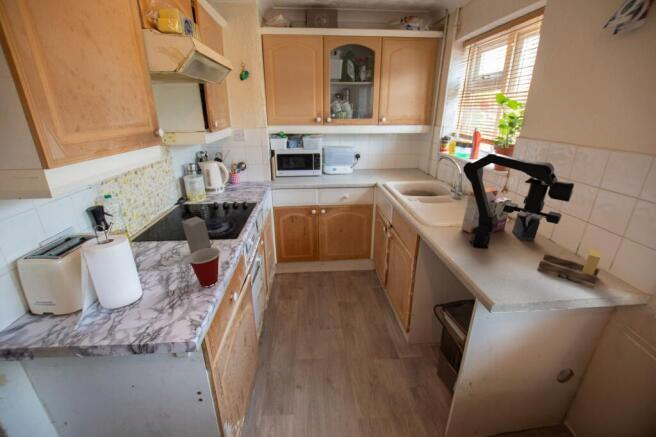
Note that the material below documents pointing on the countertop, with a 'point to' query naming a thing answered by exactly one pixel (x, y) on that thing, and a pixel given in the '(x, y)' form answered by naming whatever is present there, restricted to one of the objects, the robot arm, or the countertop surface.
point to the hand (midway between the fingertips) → (525, 232)
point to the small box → (519, 230)
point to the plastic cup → (205, 265)
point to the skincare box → (196, 234)
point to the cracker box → (475, 209)
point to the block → (592, 262)
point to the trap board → (567, 270)
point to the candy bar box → (499, 212)
